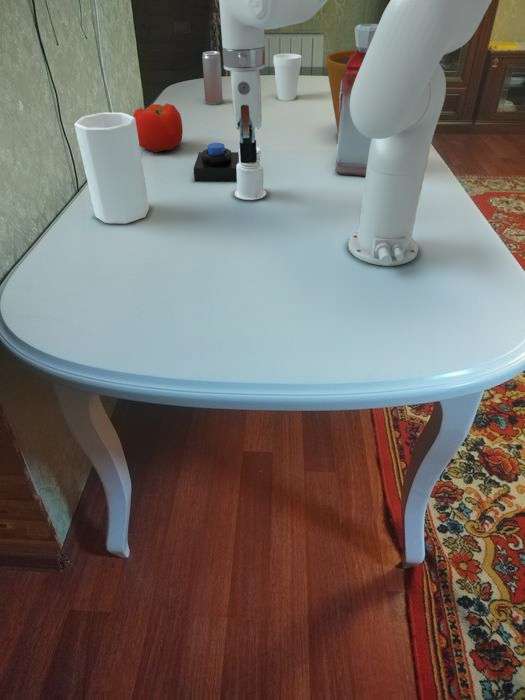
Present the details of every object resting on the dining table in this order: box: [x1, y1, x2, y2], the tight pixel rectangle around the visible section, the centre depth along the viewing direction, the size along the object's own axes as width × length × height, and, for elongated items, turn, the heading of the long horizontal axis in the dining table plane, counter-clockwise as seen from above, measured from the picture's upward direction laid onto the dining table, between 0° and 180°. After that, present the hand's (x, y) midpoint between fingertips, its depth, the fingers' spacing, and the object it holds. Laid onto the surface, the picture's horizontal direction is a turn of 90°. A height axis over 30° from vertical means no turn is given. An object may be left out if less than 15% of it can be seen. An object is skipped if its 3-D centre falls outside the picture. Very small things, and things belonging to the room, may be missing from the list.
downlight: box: [234, 146, 267, 201], centre depth 110 cm, size 8×7×10 cm
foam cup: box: [272, 53, 303, 102], centre depth 174 cm, size 10×9×13 cm
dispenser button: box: [207, 142, 226, 156], centre depth 120 cm, size 4×4×2 cm
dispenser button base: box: [193, 147, 239, 183], centre depth 122 cm, size 11×10×5 cm
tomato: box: [132, 102, 184, 153], centre depth 134 cm, size 14×13×10 cm
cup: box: [74, 111, 150, 225], centre depth 100 cm, size 11×11×18 cm
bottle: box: [335, 23, 379, 177], centre depth 117 cm, size 14×10×30 cm
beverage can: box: [201, 50, 224, 106], centre depth 169 cm, size 6×6×15 cm
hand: (248, 161), depth 102 cm, fingers closed
